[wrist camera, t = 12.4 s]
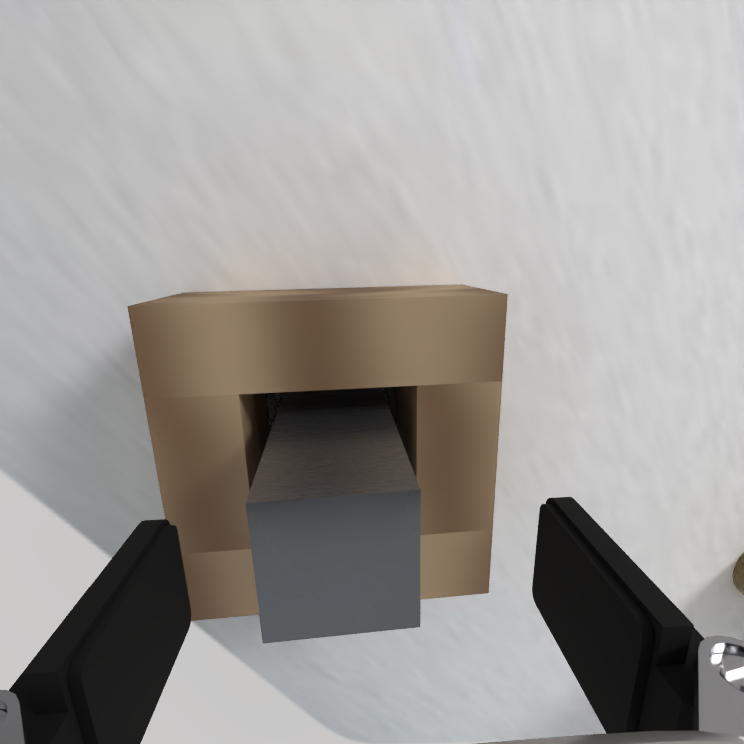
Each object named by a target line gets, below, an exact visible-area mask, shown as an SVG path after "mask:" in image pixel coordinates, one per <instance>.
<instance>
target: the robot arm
mask: <svg viewBox="0 0 744 744" xmlns="http://www.w3.org/2000/svg"><path fill="white" fill-rule="evenodd" d="M532 592H533V598H534V601H535V604H536V606H537V608H538V609H539V611H540V613H541V615H542V617H543V619H544V620H545V622H546V624H547V626H548V628H549V629H550V631H551V633H552V635H553V637H554V639H555V640H556V642H557V644H558V646H559V648H560V649H561V651H562V653H563V655H564V657H565V659H566V660H567V662H568V664H569V666H570V668H571V669H572V671H573V673H574V675H575V677H576V678H577V680H578V682H579V684H580V686H581V688H582V689H583V691H584V693H585V695H586V697H587V698H588V700H589V702H590V704H591V706H592V708H593V709H594V711H595V713H596V715H597V717H598V718H599V720H600V722H601V724H602V726H603V728H604V729H605V731H606V733H607V734H593V735H577V736H564V737H552V738H539V739H527V740H514V741H502V742H489V743H477V744H744V641H741V640H738V639H734V638H731V637H724V636H713V637H707V638H706V639H704V638H703V637H702V636H701V635H700V634H699V632H698V631H697V630H696V629H695V628H694V627H693V626H694V625H693V624H692V623H691V622H690V621H689V620H688V619H687V618H686V616H685V615H684V614H683V613H682V612H681V611H680V610H679V609H678V608H677V607H676V606H675V605H674V604H673V603H672V602H671V601H670V600H669V599H668V598H667V596H666V595H665V594H664V593H663V592H662V591H661V590H660V589H659V588H658V587H657V586H656V585H655V584H654V583H653V582H652V581H651V580H650V579H649V578H648V576H647V575H646V574H645V573H644V572H643V571H642V570H641V569H640V568H639V567H638V566H637V565H636V564H635V563H634V562H633V561H632V560H631V559H630V558H629V556H628V555H627V554H626V553H625V552H624V551H623V550H622V549H621V548H620V547H619V546H618V545H617V544H616V543H615V542H614V541H613V540H612V539H611V538H610V536H609V535H608V534H607V533H606V532H605V531H604V530H603V529H602V528H601V527H600V526H599V525H598V524H597V523H596V522H595V521H594V520H593V519H592V518H591V516H590V515H589V514H588V513H587V512H586V511H585V510H584V509H583V508H582V507H581V506H580V505H579V504H578V503H577V502H576V501H575V500H574V499H573V498H572V497H561V498H549V499H547V501H546V504H542V505H541V507H540V513H539V524H538V534H537V545H536V555H535V566H534V576H533V587H532ZM190 623H191V607H190V601H189V595H188V589H187V583H186V577H185V571H184V565H183V560H182V554H181V548H180V542H179V536H178V530H177V527H176V526H175V525H170V522H169V521H168V520H166V519H164V520H146V521H142V522H141V523H140V524H139V525H138V526H137V527H136V529H135V530H134V531H133V532H132V534H131V535H130V536H129V538H128V539H127V540H126V541H125V543H124V544H123V545H122V547H121V548H120V549H119V550H118V552H117V553H116V554H115V556H114V557H113V558H112V559H111V561H110V562H109V563H108V565H107V566H106V567H105V568H104V570H103V571H102V572H101V574H100V575H99V576H98V578H97V579H96V580H95V581H94V582H93V584H92V585H91V586H90V587H89V588H88V590H87V591H86V592H85V593H84V595H83V596H82V597H81V598H80V600H79V601H78V602H77V604H76V605H75V606H74V607H73V609H72V610H71V611H70V613H69V614H68V615H67V616H66V618H65V619H64V620H63V622H62V623H61V624H60V625H59V627H58V628H57V629H56V631H55V632H54V633H53V634H52V636H51V637H50V638H49V640H48V641H47V642H46V644H45V645H44V646H43V647H42V649H41V650H40V651H39V652H38V654H37V655H36V656H35V657H34V659H33V660H32V661H31V663H30V664H29V665H28V666H27V668H26V669H25V670H24V672H23V673H22V674H21V675H20V677H19V678H18V679H17V681H16V682H15V683H14V684H13V686H12V687H11V688H10V690H9V691H8V690H0V744H140V743H141V741H142V738H143V736H144V734H145V731H146V729H147V727H148V724H149V722H150V719H151V717H152V715H153V712H154V710H155V708H156V705H157V703H158V701H159V698H160V696H161V693H162V691H163V689H164V686H165V684H166V682H167V679H168V677H169V675H170V672H171V670H172V667H173V665H174V663H175V660H176V658H177V656H178V653H179V651H180V649H181V646H182V644H183V641H184V639H185V637H186V634H187V632H188V630H189V627H190Z"/></svg>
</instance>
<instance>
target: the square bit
mask: <svg viewBox="0 0 744 744" xmlns="http://www.w3.org/2000/svg"><path fill="white" fill-rule="evenodd" d="M246 511H247V519H248V527H249V535H250V543H251V551H252V559H253V567H254V575H255V583H256V591H257V599H258V607H259V616H260V624H261V632H262V640H263V643H271V642H281V641H290V640H300V639H309V638H319V637H328V636H338V635H347V634H357V633H367V632H376V631H386V630H395V629H405V628H414V627H420V523H421V489H420V487H419V484H418V482H417V479H416V476H415V474H414V471H413V469H412V466H411V463H410V461H409V458H408V456H407V453H406V450H405V448H404V445H403V443H402V440H401V437H400V435H399V432H398V430H397V427H396V424H395V422H394V419H393V417H392V414H391V411H390V409H389V406H388V404H387V401H386V398H385V396H384V393H383V391H382V388H381V387H378V388H357V389H337V390H317V391H297V392H284V394H283V397H282V400H281V403H280V406H279V408H278V411H277V414H276V417H275V420H274V423H273V426H272V429H271V431H270V434H269V437H268V440H267V443H266V446H265V449H264V452H263V454H262V457H261V460H260V463H259V466H258V469H257V472H256V475H255V477H254V480H253V483H252V486H251V489H250V492H249V495H248V498H247V500H246Z"/></svg>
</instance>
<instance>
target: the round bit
mask: <svg viewBox="0 0 744 744" xmlns="http://www.w3.org/2000/svg"><path fill="white" fill-rule="evenodd" d="M733 581H734V584H735V586H736V588H737V589H738V590H739V591H740V592H742V593H743V594H744V554H743V555H742V556H741V557H740V559H739V560H738V562H737V563H736V566H735V568H734V572H733Z"/></svg>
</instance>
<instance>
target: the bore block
mask: <svg viewBox="0 0 744 744" xmlns="http://www.w3.org/2000/svg"><path fill="white" fill-rule="evenodd" d="M507 295H508V294H504V293H499V292H495V291H490V290H485V289H480V288H476V287H471V286H466V285H432V286H399V287H365V288H331V289H297V290H263V291H229V292H196V293H181V294H177V295H172V296H168V297H164V298H160V299H156V300H152V301H148V302H143V303H139V304H135V305H131V306H128V312H129V317H130V323H131V329H132V334H133V340H134V345H135V351H136V357H137V362H138V368H139V373H140V379H141V385H142V390H143V396H144V401H145V407H146V413H147V418H148V424H149V429H150V435H151V441H152V446H153V452H154V457H155V463H156V469H157V474H158V480H159V485H160V491H161V497H162V502H163V508H164V513H165V519H166V520H168V521H169V522H170V525H175V526H176V527H177V530H178V536H179V542H180V548H181V554H182V560H183V565H184V571H185V577H186V583H187V589H188V595H189V601H190V607H191V621H194V620H205V619H215V618H226V617H237V616H247V615H258V614H259V607H258V599H257V591H256V583H255V575H254V567H253V559H252V551H251V543H250V535H249V527H248V519H247V511H246V500H247V498H248V495H249V492H250V489H251V486H252V483H253V480H254V477H255V475H256V472H257V469H258V466H259V463H260V460H261V457H262V454H263V452H264V449H265V446H266V443H267V440H268V437H269V434H270V432H269V422H268V411H267V401H266V393H277V392H297V391H317V390H337V389H357V388H378V387H396V427H397V430H398V432H399V435H400V437H401V440H402V443H403V445H404V448H405V450H406V453H407V456H408V458H409V461H410V463H411V466H412V469H413V471H414V474H415V476H416V479H417V482H418V484H419V487H420V489H421V523H420V599H429V598H440V597H451V596H461V595H472V594H483V593H488V592H489V576H490V561H491V545H492V529H493V514H494V498H495V482H496V467H497V451H498V435H499V420H500V404H501V389H502V373H503V357H504V342H505V326H506V310H507Z"/></svg>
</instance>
